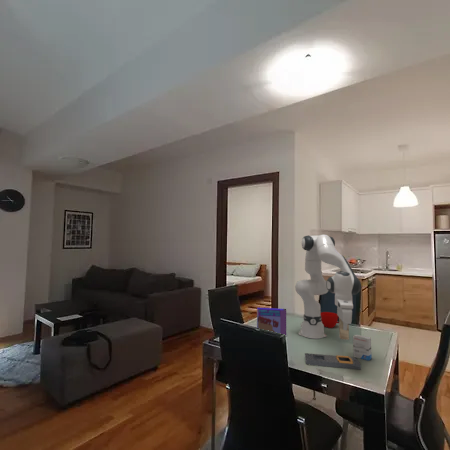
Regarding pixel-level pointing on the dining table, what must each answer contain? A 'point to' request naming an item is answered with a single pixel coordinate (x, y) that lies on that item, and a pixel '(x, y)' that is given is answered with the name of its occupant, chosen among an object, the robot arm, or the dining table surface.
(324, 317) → the ceramic cup
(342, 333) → the peg
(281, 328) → the cereal box
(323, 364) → the rail
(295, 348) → the dining table surface
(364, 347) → the ink box
